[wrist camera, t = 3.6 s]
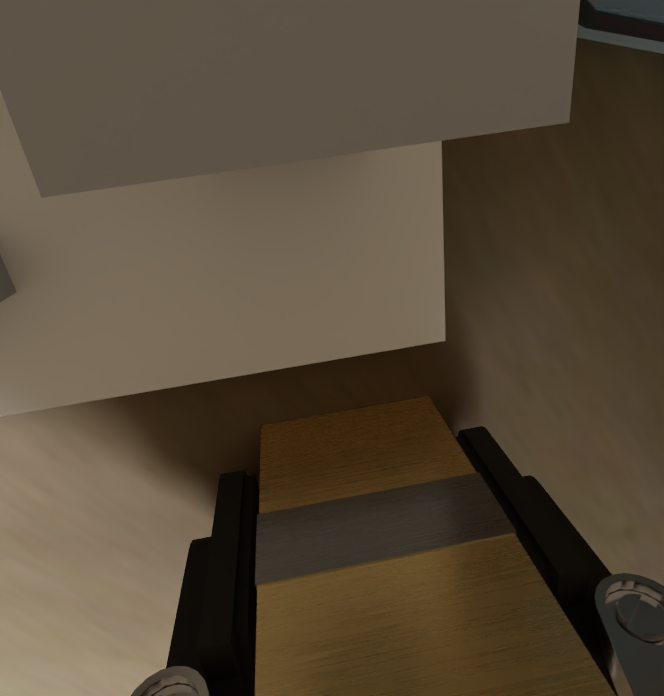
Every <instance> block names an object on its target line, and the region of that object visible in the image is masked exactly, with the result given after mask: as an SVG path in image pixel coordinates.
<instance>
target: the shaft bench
mask: <svg viewBox="0 0 664 696" xmlns="http://www.w3.org/2000/svg"><path fill="white" fill-rule="evenodd" d="M579 7H580V0H0V417H2V416H8V415H14V414H20V413H26V412H31V411H37V410H43V409H49V408H55V407H61V406H67V405H72V404H78V403H84V402H90V401H96V400H102V399H108V398H113V397H119V396H125V395H131V394H137V393H143V392H149V391H154V390H160V389H166V388H172V387H178V386H184V385H190V384H195V383H201V382H207V381H213V380H219V379H225V378H231V377H236V376H242V375H248V374H254V373H260V372H266V371H272V370H277V369H283V368H289V367H295V366H301V365H307V364H313V363H319V362H324V361H330V360H336V359H342V358H348V357H354V356H360V355H365V354H371V353H377V352H383V351H389V350H395V349H401V348H406V347H412V346H418V345H424V344H430V343H436V342H442V341H446V338H445V288H444V237H443V187H442V141H443V140H450V139H457V138H464V137H471V136H478V135H486V134H493V133H500V132H507V131H514V130H521V129H528V128H535V127H542V126H549V125H556V124H563V123H569V120H570V109H571V97H572V86H573V75H574V63H575V52H576V41H577V30H578V18H579Z"/></svg>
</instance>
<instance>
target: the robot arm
mask: <svg viewBox="0 0 664 696" xmlns="http://www.w3.org/2000/svg"><path fill="white" fill-rule="evenodd" d="M455 439H456V441H457V442H458V444H459V445H460V447H461V449H462V450H463V452H464V453H465V455H466V457H467V458H468V460H469V461H470V463H471V465H472V466H473V468H474V469H475V471H476V473H478V472H479V473H480V475H481V476H482V478H483V479H484V481H485V483H486V484H487V486H488V487H489V489H490V491H491V492H492V494H493V495H494V497H495V498H496V500H497V502H498V503H499V505H500V506H501V508H502V510H503V511H504V513H505V514H506V516H507V517H508V519H509V521H510V522H511V524H512V525H513V527H514V528H515V530H516V532H517V538H518V540H519V541H520V543H521V545H522V546H523V548H524V549H525V551H526V553H527V554H528V556H529V557H530V559H531V561H532V562H533V564H534V565H535V567H536V569H537V570H538V572H539V573H540V575H541V577H542V578H543V580H544V581H545V583H546V585H547V586H548V588H549V589H550V591H551V593H552V594H553V596H554V597H555V599H556V601H557V602H558V604H559V605H560V607H561V609H562V610H563V612H564V613H565V615H566V617H567V618H568V620H569V621H570V623H571V625H572V626H573V628H574V629H575V631H576V633H577V634H578V636H579V637H580V639H581V641H582V642H583V644H584V645H585V647H586V649H587V650H588V652H589V653H590V655H591V657H592V658H593V660H594V661H595V663H596V665H597V666H598V668H599V669H600V671H601V673H602V674H603V676H604V677H605V679H606V681H607V682H608V684H609V685H610V687H611V689H612V690H613V692H614V693H615V695H616V696H664V586H662V585H661V584H659V583H657V582H655V581H654V580H651V579H648V578H645V577H642V576H639V575H633V574H626V573H622V574H614V575H612V574H611V573H610V572H609V570H608V569H607V568H606V567H605V565H604V564H603V563H602V562H601V560H600V559H599V558H598V556H597V555H596V554H595V553H594V551H593V550H592V549H591V548H590V546H589V545H588V544H587V543H586V541H585V540H584V539H583V537H582V536H581V535H580V534H579V532H578V531H577V530H576V529H575V527H574V526H573V525H572V524H571V522H570V521H569V520H568V519H567V517H566V516H565V515H564V513H563V512H562V511H561V510H560V508H559V507H558V506H557V505H556V503H555V502H554V501H553V500H552V498H551V497H550V496H549V494H548V493H547V492H546V491H545V489H544V488H543V487H542V486H541V484H540V483H539V482H538V481H537V480H536V479H535V478H534V477H532V476H530V475H529V476H524V477H522V476H521V474H520V473H519V472H518V470H517V469H516V468H515V466H514V465H513V464H512V462H511V461H510V460H509V458H508V457H507V456H506V454H505V453H504V452H503V450H502V449H501V448H500V446H499V445H498V444H497V442H496V441H495V440H494V438H493V437H492V436H491V434H490V433H489V432H488V430H487V429H486V428H485V427H483V426H481V427H476V428H470V429H465V430H460V431H459V433H458V437H455ZM259 495H260V491H259V487H258V483H257V479H256V476H255V475H250V476H247V473H246V471H245V470H242V471H236V472H231V473H225V474H221V475H220V479H219V486H218V493H217V500H216V507H215V514H214V521H213V528H212V535H211V537H206V538H201V539H196V540H193V541H192V542H191V544H190V548H189V552H188V557H187V562H186V567H185V573H184V578H183V583H182V588H181V593H180V599H179V604H178V609H177V614H176V620H175V625H174V630H173V635H172V640H171V646H170V651H169V656H168V661H167V666H166V669H163V670H160V671H159V672H157V673H155V674H154V675H152V676H150V677H149V678H147V679H146V680H145V681H144V682H143V683H142V684H141V685H140V686H139V687H138V688H136V689H135V691H134V692H133V693H132V695H131V696H255V664H256V622H257V590H256V586H255V566H256V532H257V514H259Z"/></svg>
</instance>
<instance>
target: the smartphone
mask: <svg viewBox="0 0 664 696" xmlns="http://www.w3.org/2000/svg"><path fill="white" fill-rule="evenodd" d="M577 38H582V39H588V40H593V41H598V42H604V43H609V44H614V45H619V46H625V47H630V48H635V49H640V50H646V51H651V52H656V53H661V54H664V0H580V7H579V18H578V30H577Z"/></svg>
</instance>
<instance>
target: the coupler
mask: <svg viewBox="0 0 664 696" xmlns="http://www.w3.org/2000/svg"><path fill="white" fill-rule="evenodd" d="M255 586H256V590H257V622H256V664H255V696H616V695H615V693H614V692H613V690H612V689H611V687H610V685H609V684H608V682H607V681H606V679H605V677H604V676H603V674H602V673H601V671H600V669H599V668H598V666H597V665H596V663H595V661H594V660H593V658H592V657H591V655H590V653H589V652H588V650H587V649H586V647H585V645H584V644H583V642H582V641H581V639H580V637H579V636H578V634H577V633H576V631H575V629H574V628H573V626H572V625H571V623H570V621H569V620H568V618H567V617H566V615H565V613H564V612H563V610H562V609H561V607H560V605H559V604H558V602H557V601H556V599H555V597H554V596H553V594H552V593H551V591H550V589H549V588H548V586H547V585H546V583H545V581H544V580H543V578H542V577H541V575H540V573H539V572H538V570H537V569H536V567H535V565H534V564H533V562H532V561H531V559H530V557H529V556H528V554H527V553H526V551H525V549H524V548H523V546H522V545H521V543H520V541H519V540H518V538H517V532H516V530H515V528H514V527H513V525H512V524H511V522H510V521H509V519H508V517H507V516H506V514H505V513H504V511H503V510H502V508H501V506H500V505H499V503H498V502H497V500H496V498H495V497H494V495H493V494H492V492H491V491H490V489H489V487H488V486H487V484H486V483H485V481H484V479H483V478H482V476H481V475H480V473H479V472H478V473H476V471H475V469H474V468H473V466H472V465H471V463H470V461H469V460H468V458H467V457H466V455H465V453H464V452H463V450H462V449H461V447H460V445H459V444H458V442H457V441H456V439H455V437H454V436H453V434H452V433H451V431H450V429H449V428H448V426H447V425H446V423H445V421H444V420H443V418H442V417H441V415H440V413H439V412H438V410H437V409H436V407H435V405H434V404H433V402H432V401H431V399H430V397H429V396H425V397H419V398H414V399H408V400H402V401H397V402H391V403H385V404H380V405H374V406H369V407H363V408H357V409H352V410H346V411H341V412H335V413H329V414H324V415H318V416H312V417H307V418H301V419H296V420H290V421H284V422H279V423H273V424H268V425H262V426H261V453H260V495H259V514H257V532H256V566H255Z"/></svg>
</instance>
